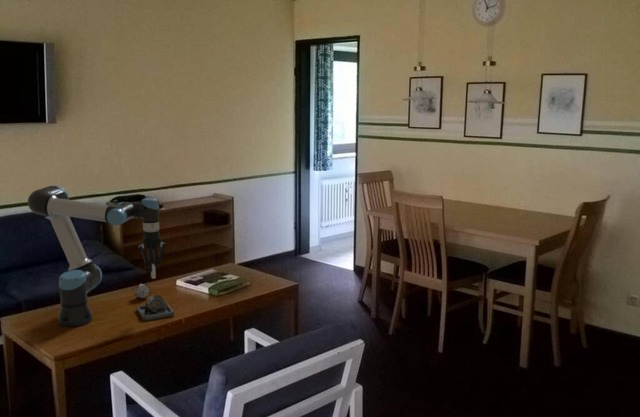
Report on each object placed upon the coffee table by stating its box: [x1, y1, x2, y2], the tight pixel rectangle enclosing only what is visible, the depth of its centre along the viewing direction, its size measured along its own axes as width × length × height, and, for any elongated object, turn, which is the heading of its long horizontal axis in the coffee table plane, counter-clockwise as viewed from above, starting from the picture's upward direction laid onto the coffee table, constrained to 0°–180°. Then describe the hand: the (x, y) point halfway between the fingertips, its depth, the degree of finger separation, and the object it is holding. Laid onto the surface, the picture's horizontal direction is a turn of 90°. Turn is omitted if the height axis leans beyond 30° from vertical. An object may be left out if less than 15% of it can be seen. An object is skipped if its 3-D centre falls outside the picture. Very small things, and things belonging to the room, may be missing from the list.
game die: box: [132, 282, 152, 301], centre depth 319 cm, size 9×8×10 cm
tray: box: [136, 301, 175, 322], centre depth 298 cm, size 15×16×2 cm
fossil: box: [144, 294, 168, 314], centre depth 297 cm, size 11×9×10 cm
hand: (153, 277), depth 295 cm, fingers closed
